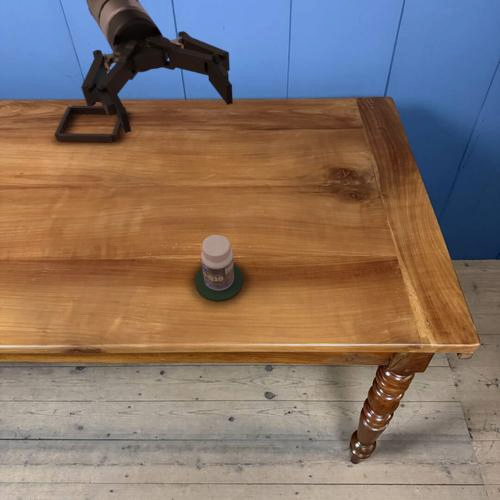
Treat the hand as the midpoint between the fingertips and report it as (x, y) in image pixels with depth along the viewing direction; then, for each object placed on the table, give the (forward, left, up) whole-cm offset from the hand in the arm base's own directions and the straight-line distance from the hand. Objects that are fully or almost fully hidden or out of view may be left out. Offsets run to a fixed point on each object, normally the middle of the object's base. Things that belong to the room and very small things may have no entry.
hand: (179, 108), depth 57 cm
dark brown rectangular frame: (-40, +9, -26) cm, 48 cm away
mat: (+8, -4, -26) cm, 27 cm away
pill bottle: (+8, -4, -26) cm, 27 cm away
